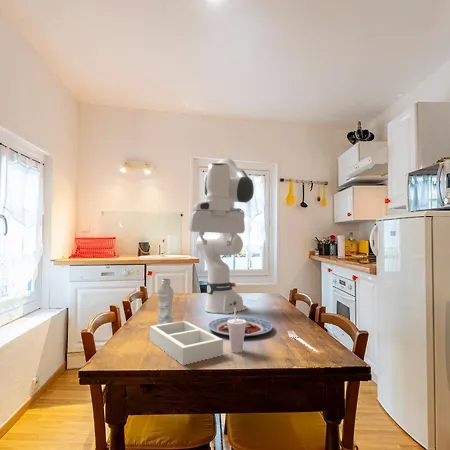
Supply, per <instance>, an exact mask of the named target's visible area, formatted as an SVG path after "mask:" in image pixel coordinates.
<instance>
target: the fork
mask: <svg viewBox="0 0 450 450" xmlns="http://www.w3.org/2000/svg"><path fill="white" fill-rule="evenodd" d="M287 334H288V336H289V338H290V337H292V338H293V337H294V338H295V337H296V338H295V339H296V340H295V341H298V342H300V343H301V344H303V345H304V344H305V345H304V346H306V347H307V346H308V347H307V348H309V349H310V350H312V349H313V350H312V351H314V352H315V351H316V352H315V353H317V352H319V350H317V349H316V348H314V347H313V346H311V345H310V344H309V343H307V341H304V339H302V338H301V337H299V336H298V335H297V334H296V332H294V330H288V331H287ZM297 337H299V338H297Z"/></svg>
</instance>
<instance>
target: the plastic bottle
mask: <svg viewBox="0 0 450 450" xmlns="http://www.w3.org/2000/svg"><path fill="white" fill-rule="evenodd" d="M160 281H161V282H160V284H161V286H160V287H159V289H158V290H157V300H158V314H157V315H158V316H157V322H156V325H160V324H166V323H173V322H174V317H173V299H174V289H173V288H172V286H171V279H170V278H162V279H161V280H160Z"/></svg>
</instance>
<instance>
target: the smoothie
mask: <svg viewBox="0 0 450 450" xmlns="http://www.w3.org/2000/svg"><path fill="white" fill-rule="evenodd" d="M233 315H234V316H233V317H234V319H230V320H228V321H227V325H228V328H229V335H228V336H229V337H228V338H229V344H230V352H231V351H232V353H233V352H235V353H234V354H240V353H239V352H241V353H243V349H244V341H245V337H244V333H245V325H247V324H246V321H245V320H243V319H236V317H237V312H236V308H234V314H233Z"/></svg>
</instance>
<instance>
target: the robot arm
mask: <svg viewBox="0 0 450 450" xmlns="http://www.w3.org/2000/svg"><path fill="white" fill-rule="evenodd" d="M203 181H204V195H205V201H202V202H199V203H196V204H194V205H193V206H192V210H193V212H192V213H191V214H190V217H189V227H188V229H189V231H190V232H192V233H193V232H194V233H195V232H196V233H198V237H197V239H196V242H195V247H196V250H197V252H199V254H200V255H201V256H202V257H203V259H204V260H205V263H206V266H207V267H206V269H207V282H206V293H207V296H206V300H205V301H206V303H205V307H204V311H205V312H208V313H210V314H211V313H212V314H226V315H227V314H228V315H229V313H230V314H233V312H234V308H236V313H238V312H241V310H242V311H246V310H248V306H247V305H244V302H243V301H244V300H243V298H242V297H243V296H241V295H240V294H239V293H238V292H236V291H235V290H234V289H233V287H234V288H235V287H236V286H237V283H236V282H230V267H229V265H228V264H227V263H225V262H224V261H223V260H222V258H221V256H235V255H238V254H240V253H241V252H242V250H243V247H244V246H243V245H244V242H243V239H242V237H241V236H240V235H239V234H243V233H245V230H246V226H245V211H244V210H242V209H241V208H239V207H237V208H235V203H245V204H247V203H248V202H250V201H251V200H252V198H254V194H255V193H254V192H255V185H254V183H253V180H252V179H251V178H250V177H249V176H248V175H247V173H246V171H244V170H243V169H241V168H239V167H237V164H236V162H235V161H234V160H232V159H231V158H229V157H225V158H221V159H220V160H218V161H217V162H213V163H210V164H209V165H208V168H207V171H206V173H205V175H204V178H203ZM245 309H246V310H245ZM237 311H238V312H237Z"/></svg>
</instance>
